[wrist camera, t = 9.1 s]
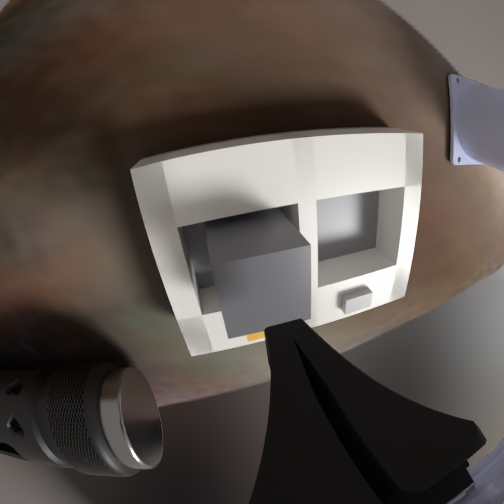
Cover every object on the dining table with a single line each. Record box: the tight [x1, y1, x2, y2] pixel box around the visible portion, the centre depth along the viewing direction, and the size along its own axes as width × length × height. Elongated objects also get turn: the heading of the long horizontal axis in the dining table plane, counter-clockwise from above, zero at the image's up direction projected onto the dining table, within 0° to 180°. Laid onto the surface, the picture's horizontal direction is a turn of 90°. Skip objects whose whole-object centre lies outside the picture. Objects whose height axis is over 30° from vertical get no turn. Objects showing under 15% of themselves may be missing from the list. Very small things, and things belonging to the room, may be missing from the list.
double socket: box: [130, 127, 423, 356], centre depth 16 cm, size 16×12×4 cm
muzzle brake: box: [0, 361, 163, 477], centre depth 15 cm, size 10×28×10 cm, turn 97°
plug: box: [204, 207, 311, 339], centre depth 14 cm, size 4×4×6 cm
